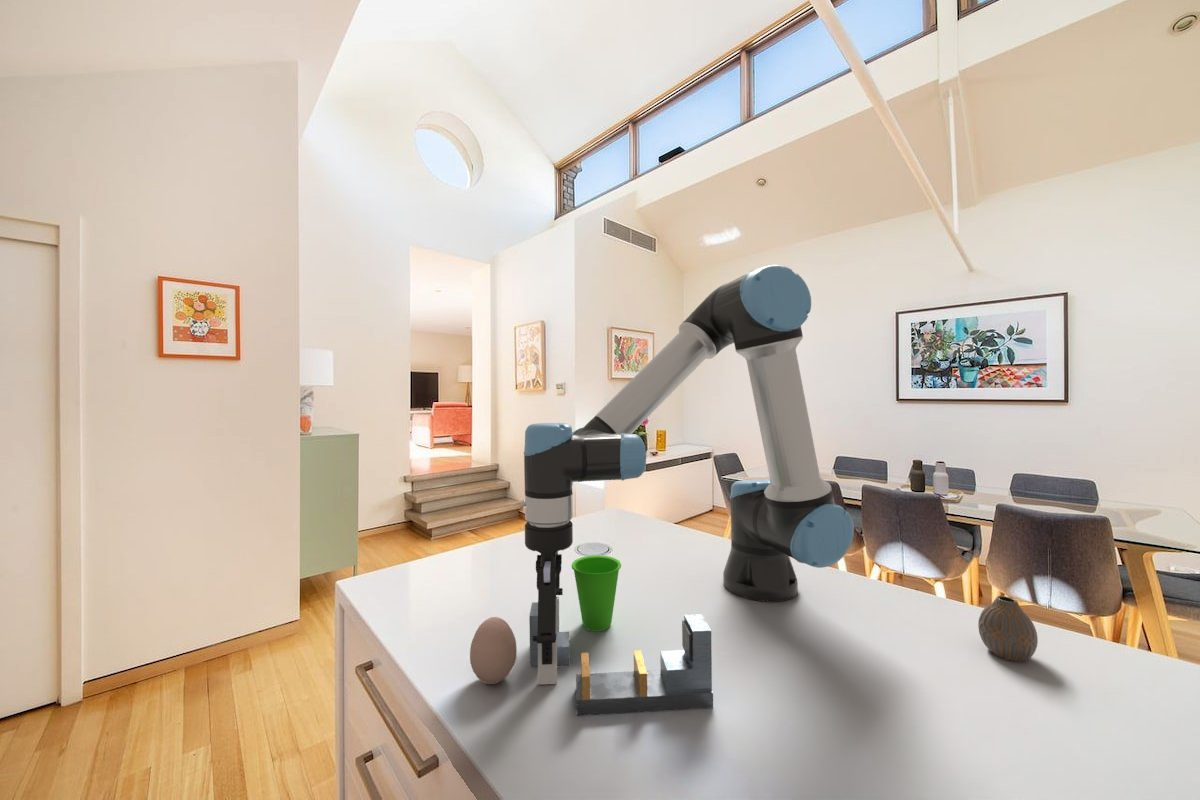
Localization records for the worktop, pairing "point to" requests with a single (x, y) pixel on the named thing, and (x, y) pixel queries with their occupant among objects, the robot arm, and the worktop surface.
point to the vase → (1007, 630)
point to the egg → (493, 650)
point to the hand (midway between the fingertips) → (549, 657)
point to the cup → (596, 589)
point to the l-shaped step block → (561, 643)
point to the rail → (653, 679)
